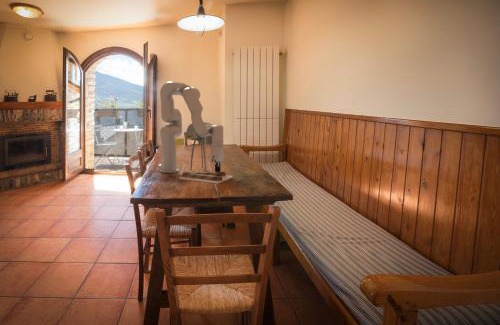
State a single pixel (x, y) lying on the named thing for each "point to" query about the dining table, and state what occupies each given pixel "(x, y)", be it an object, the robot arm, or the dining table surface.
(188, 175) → the tongs base
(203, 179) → the board
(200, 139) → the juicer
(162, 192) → the dining table surface
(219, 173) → the tongs arm
